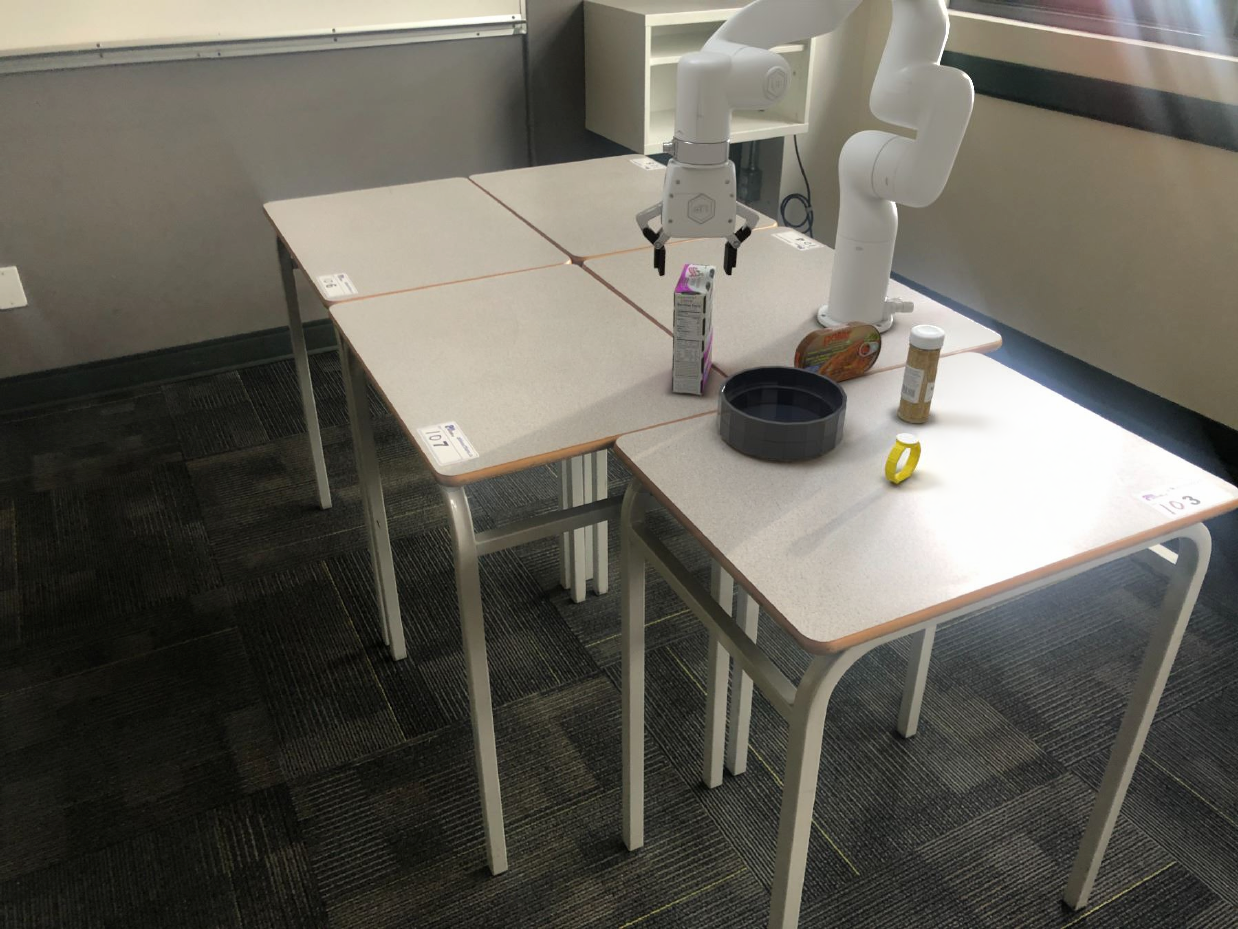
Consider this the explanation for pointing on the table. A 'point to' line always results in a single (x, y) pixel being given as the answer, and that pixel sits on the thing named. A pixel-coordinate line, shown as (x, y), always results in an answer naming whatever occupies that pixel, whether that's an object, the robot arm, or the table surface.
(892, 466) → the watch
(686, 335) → the candy bar box
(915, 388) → the spice jar
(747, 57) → the robot arm
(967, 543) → the table surface
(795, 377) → the bowl
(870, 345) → the tin
